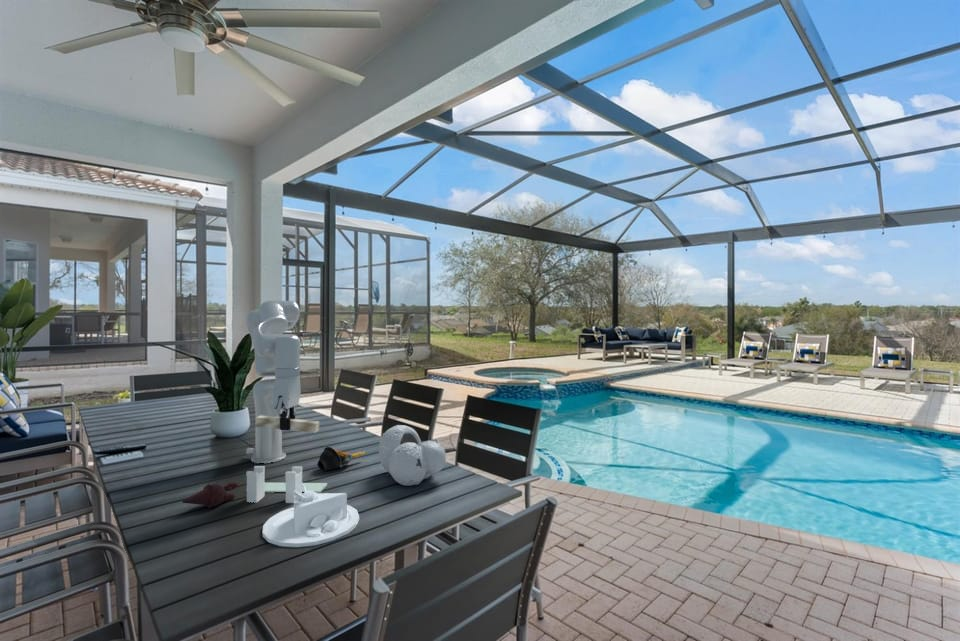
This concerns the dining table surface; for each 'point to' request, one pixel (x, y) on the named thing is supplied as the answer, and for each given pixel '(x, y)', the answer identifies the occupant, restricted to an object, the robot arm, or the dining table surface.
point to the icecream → (212, 495)
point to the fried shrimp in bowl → (335, 459)
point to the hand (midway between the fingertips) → (287, 427)
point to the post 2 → (293, 483)
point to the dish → (311, 520)
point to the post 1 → (255, 484)
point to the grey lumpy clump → (409, 455)
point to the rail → (294, 424)
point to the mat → (309, 487)
